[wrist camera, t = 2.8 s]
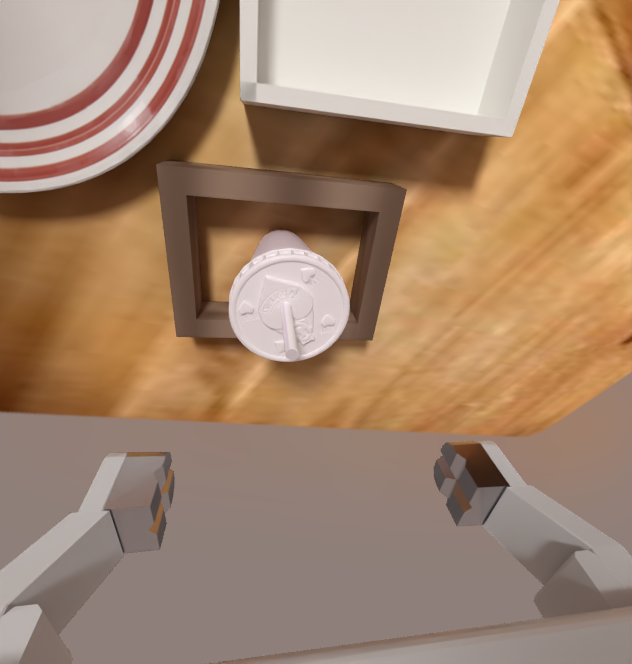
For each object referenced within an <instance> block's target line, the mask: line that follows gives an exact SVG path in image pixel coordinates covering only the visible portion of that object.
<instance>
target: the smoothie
mask: <svg viewBox="0 0 632 664" xmlns="http://www.w3.org/2000/svg"><path fill="white" fill-rule="evenodd" d="M349 310H350V303H349V296H348V293H347V289H346V287H345V284H344V281H343V278H342V277H341V275H340V274H339V272H338V271H337V270H336V268H335V267H334V266H333V265H332V264H331V263H330V262H328V261H327V260H326V259H324V258H323V257H322V256H320V255H318V254H315V253H313V252H312V251H311V250H310V249H309V248H308V246H307V245H306V244H305V243H304V242H303V241H302V240H301V239H300V238H299V237H298V236H297V235H296V234H294V233H293V232H291V231H288V230H274V231H271V232H269V233H268V234H266V235H265V236H264V237H263V238H262V239H261V241H260V242H259V244H258V246H257V248H256V250H255V253H254V255H253V257H252V259H251V261H250V262H249V263H248V264H247V265H245V266H244V267H243V269H242V270H241V271H240V273H239V274H238V275H237V277H236V278H235V280H234V282H233V285H232V288H231V291H230V294H229V318H230V323H231V326H232V328H233V331H234V333H235V334H236V336H237V338H238V339H239V340H240V341H241V343H242V344H243V345H244V346H245V347H247V348H248V349H249V350H250V351H252V352H253V353H255V354H257V355H259V356H261V357H264V358H266V359H269V360H274V361H280V362H295V361H301V360H305V359H309V358H311V357H314V356H316V355H318V354H320V353H322V352H323V351H325V350H326V349H328V348H329V347H330V346H331V345H332V344H333V343H334V342H335V341H336V340H337V339H338V338H339V336H340V335H341V334H342V332H343V330H344V328H345V326H346V324H347V321H348V317H349Z"/></svg>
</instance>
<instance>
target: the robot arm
mask: <svg viewBox="0 0 632 664" xmlns="http://www.w3.org/2000/svg"><path fill="white" fill-rule="evenodd" d="M441 453H442V454H443V456H441V457H440V458H439V459H437V460H436V463H435V466H434V478H435V482H436V485H437V487H438V489H439V491H440V492H441V493H442V494H443V495H445V496H446V497H447V503H446V506H447V508H448V510H449V511H450V514H451V515H452V518H453V519H454V522H455V524H456V526H474V525H483V527H484V528H485V529H486V530H487V531H488V532H489V533H490V534H491V535H492V536H493V537H494V538H495V539H496V540H497V541H498V542H499V543H500V544H501V545H502V546H503V547H504V548H506V550H508V551H509V552H510V553H511V554H512V555H513V556H514V557H515V558H516V559H517V560H518V561H519V562H520V563H521V564H522V565H523V566H524V567H525V568H526V569H527V570H528V571H529V572H531V573H532V574H533V575H534V576H535V577H536V578H537V579H538V580H539V581H540V582H541V583H542V584H543V585H544V586H543V587H542V589H541V590H540V591H539V592H538V593H537V594H536V595H535V598H534V602H535V604H536V606H537V608H538V610H539V611H540V613H541V615H542V617H543V618H540V619H533V620H526V621H519V622H511V623H503V624H496V625H488V626H482V627H473V628H466V629H459V630H451V631H444V632H437V633H429V634H422V635H414V636H407V637H400V638H392V639H385V640H377V641H370V642H362V643H355V644H348V645H341V646H333V647H326V648H319V649H311V650H303V651H296V652H289V653H281V654H274V655H266V656H259V657H251V658H245V659H237V660H230V661H222V662H215V663H208V664H632V557H631V556H630V555H629V553H628V552H627V551H626V550H625V549H624V548H623V546H622V545H620V544H619V543H617V542H616V541H614V540H613V539H611V538H610V537H608V536H606V535H605V534H604V533H602V532H601V531H599V530H598V529H596V528H595V527H593V526H592V525H590V524H588V523H587V522H585V521H584V520H582V519H581V518H579V517H578V516H576V515H575V514H573V513H572V512H570V511H569V510H567V509H566V508H564V507H563V506H561V505H560V504H558V503H557V502H555V501H554V500H552V499H551V498H549V497H548V496H546V495H545V494H543V493H542V492H540V491H539V490H537V489H536V488H534V487H533V486H527V485H526V484H525V482H524V481H523V480H522V478H521V477H520V476H519V474H518V473H517V472H516V470H515V469H514V468H513V466H512V465H511V464H510V462H509V461H508V460H507V458H506V457H505V456H504V454H503V453H502V452H501V450H500V449H499V448H498V446H497V445H496V444H495V443H494V442H492V441H476V442H475V441H467V442H447V443H445V444H444V445H443V446H442V448H441ZM171 462H172V459H171V454H170V452H130V453H129V452H128V453H109V454H108V455H107V456H106V457H105V458H104V459H103V462H102V463H101V465H100V467H99V469H98V471H97V473H96V476H95V478H94V480H93V482H92V484H91V486H90V488H89V490H88V492H87V494H86V496H85V498H84V500H83V502H82V504H81V506H80V508H79V510H78V512H73V513H70V514H69V515H67V516H66V517H65V518H64V519H62V520H61V521H60V522H59V523H58V524H56V525H55V526H54V527H53V528H52V529H51V530H49V531H48V532H47V533H46V534H44V535H43V536H42V537H41V538H40V539H38V540H37V541H36V542H35V543H33V544H32V545H31V546H30V547H29V548H27V549H26V550H25V551H24V552H22V553H21V554H20V555H19V556H18V557H16V558H15V559H14V560H13V561H12V562H10V563H9V564H8V565H7V566H6V567H4V568H3V569H2V570H1V571H0V664H72V661H73V657H72V655H71V653H70V651H69V650H68V648H67V647H66V645H65V644H64V642H63V641H62V640H61V638H60V637H59V634H60V633H61V631H62V630H63V629H64V628H65V626H66V625H67V624H68V623H69V622H70V620H71V619H72V618H73V617H74V616H75V614H76V613H77V612H78V610H80V608H81V607H82V606H83V605H84V603H85V602H86V601H87V600H88V599H89V597H90V596H91V595H92V594H93V593H94V591H95V590H96V589H97V588H98V586H99V585H100V584H101V583H102V582H103V580H104V579H105V578H106V577H107V576H108V574H109V573H110V572H111V570H112V569H113V568H114V567H115V566H116V565H117V564H118V562H119V561H120V560H121V559H122V557H123V556H124V554H123V553H132V552H142V551H151V550H159V549H160V547H161V543H162V539H163V535H164V531H165V527H166V518H165V512H166V511H167V510H168V509H169V508H170V507H171V503H172V498H173V492H174V471H172V470H171V469H170V465H171Z"/></svg>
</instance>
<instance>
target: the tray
mask: <svg viewBox="0 0 632 664" xmlns="http://www.w3.org/2000/svg"><path fill="white" fill-rule="evenodd" d="M559 1H560V0H240V100H241V101H242V103H243V104H246V105H253V106H261V107H268V108H275V109H283V110H290V111H297V112H305V113H312V114H320V115H327V116H334V117H342V118H349V119H356V120H364V121H371V122H378V123H386V124H393V125H401V126H408V127H415V128H423V129H430V130H437V131H445V132H452V133H460V134H467V135H474V136H495V137H512V136H513V133H514V130H515V127H516V124H517V121H518V119H519V116H520V113H521V110H522V107H523V104H524V101H525V99H526V96H527V93H528V90H529V87H530V84H531V81H532V79H533V76H534V73H535V70H536V67H537V64H538V61H539V59H540V56H541V53H542V50H543V47H544V44H545V41H546V39H547V36H548V33H549V30H550V27H551V24H552V21H553V19H554V16H555V13H556V10H557V7H558V4H559Z"/></svg>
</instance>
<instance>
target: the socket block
mask: <svg viewBox="0 0 632 664" xmlns="http://www.w3.org/2000/svg"><path fill="white" fill-rule="evenodd" d="M156 170H157V178H158V186H159V195H160V203H161V211H162V220H163V228H164V236H165V245H166V253H167V261H168V270H169V278H170V286H171V295H172V303H173V311H174V320H175V328H176V336H177V337H214V338H237V336H236V334H235V333H234V331H233V328H232V326H231V323H230V318H229V302H213V301H203V299H202V284H201V270H200V255H199V241H198V226H197V212H196V198H195V196H201V197H213V198H224V199H236V200H247V201H258V202H270V203H281V204H293V205H304V206H316V207H327V208H339V209H350V210H361V211H366V213H365V219H364V225H363V230H362V236H361V242H360V248H359V253H358V259H357V265H356V270H355V276H354V282H353V287H352V293H351V299H350V310H349V317H348V321H347V324H346V326H345V328H344V330H343V332H342V334H341V335H340V336H339V338H338V339H337V340H373V335H374V331H375V326H376V322H377V318H378V313H379V309H380V305H381V300H382V296H383V291H384V287H385V283H386V278H387V274H388V269H389V265H390V261H391V256H392V252H393V247H394V243H395V239H396V234H397V230H398V225H399V221H400V217H401V212H402V208H403V204H404V199H405V195H406V189H404V188H402V187H399V186H397V185H395V184H392V183H386V182H377V181H367V180H358V179H348V178H338V177H329V176H319V175H309V174H300V173H290V172H280V171H271V170H261V169H252V168H242V167H232V166H223V165H213V164H203V163H194V162H184V161H174V160H167V161H164V162H161V163H158V164H156Z"/></svg>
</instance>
